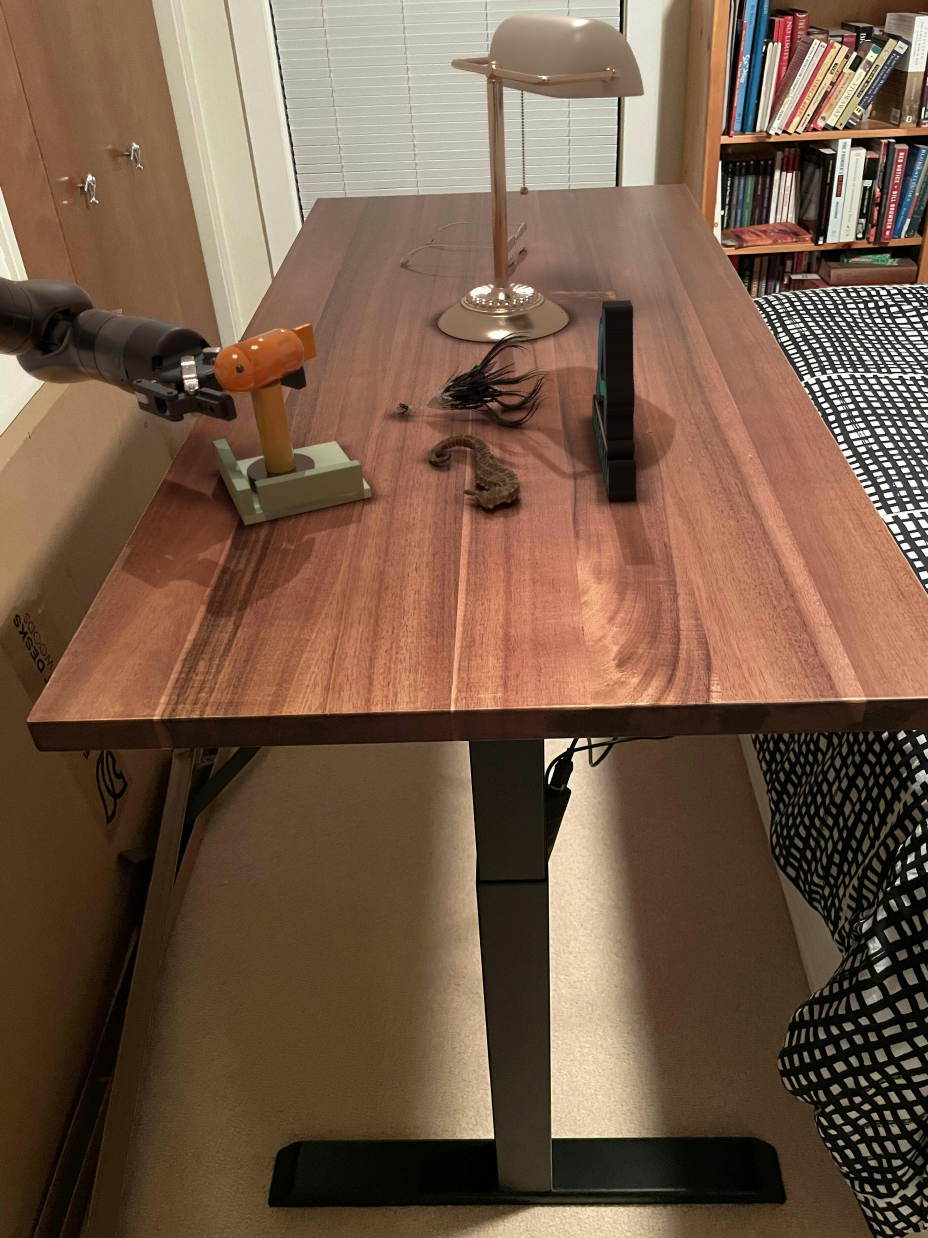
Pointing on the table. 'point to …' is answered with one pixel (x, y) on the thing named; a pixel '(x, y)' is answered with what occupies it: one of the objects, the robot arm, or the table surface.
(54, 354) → the robot arm
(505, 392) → the feather lure
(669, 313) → the table surface
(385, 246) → the table surface
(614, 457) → the decorative sign
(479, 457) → the seahorse
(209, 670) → the table surface
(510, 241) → the eyeglasses
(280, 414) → the goldfish figurine
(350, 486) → the corner tray
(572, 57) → the lamp
